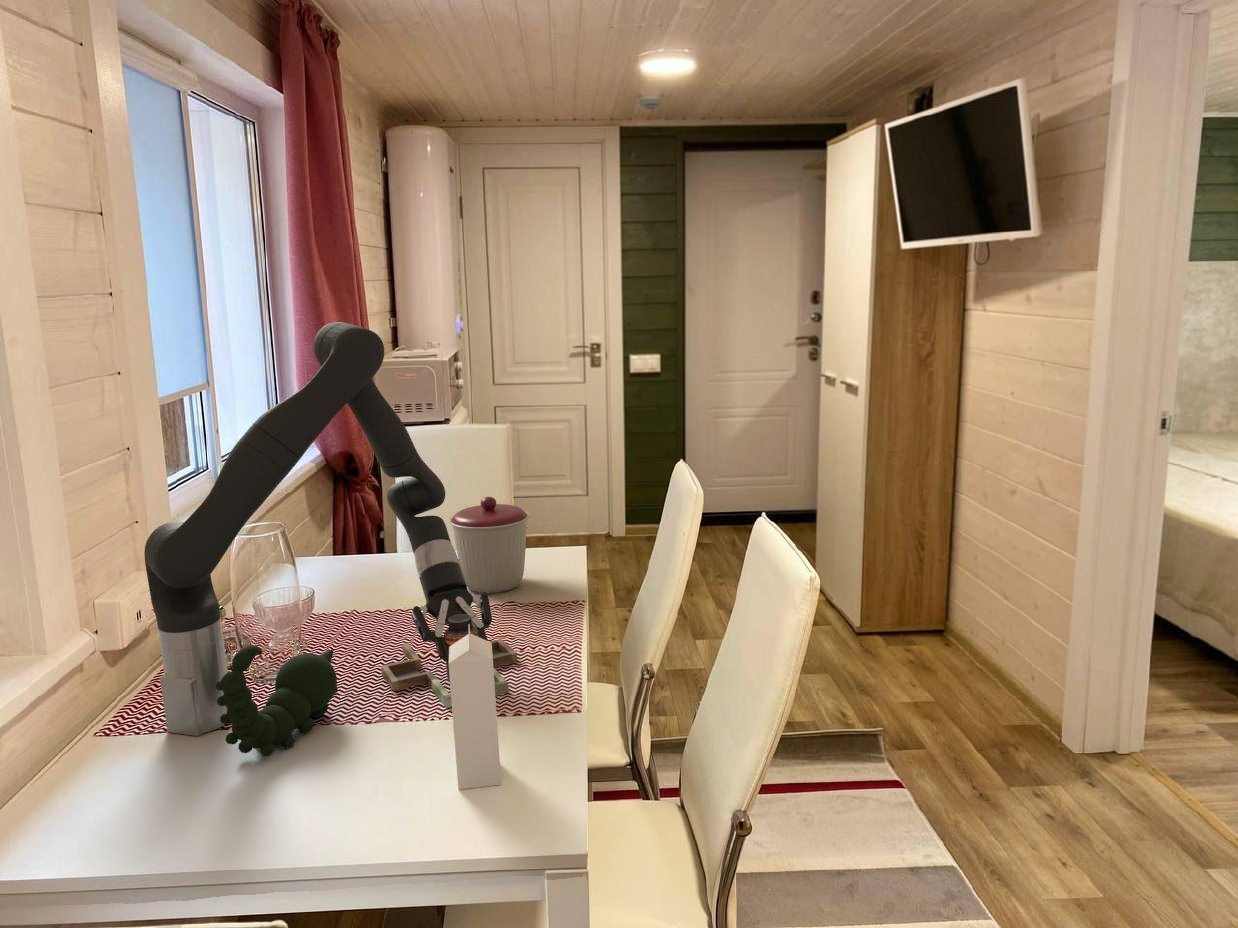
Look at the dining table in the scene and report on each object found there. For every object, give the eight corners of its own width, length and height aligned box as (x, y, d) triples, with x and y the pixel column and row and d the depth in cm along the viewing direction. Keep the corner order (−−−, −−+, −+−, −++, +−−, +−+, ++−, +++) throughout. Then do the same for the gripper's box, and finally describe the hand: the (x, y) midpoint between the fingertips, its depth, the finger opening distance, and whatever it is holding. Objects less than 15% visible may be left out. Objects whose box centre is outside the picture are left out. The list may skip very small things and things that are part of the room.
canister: (543, 591, 209) (538, 500, 205) (463, 604, 203) (456, 511, 199) (521, 569, 226) (516, 484, 221) (446, 580, 219) (440, 493, 215)
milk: (499, 763, 136) (491, 621, 132) (501, 785, 131) (492, 636, 126) (457, 768, 136) (447, 624, 131) (457, 790, 130) (446, 640, 125)
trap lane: (371, 659, 175) (370, 650, 175) (487, 634, 186) (486, 625, 185) (410, 716, 152) (409, 706, 152) (541, 683, 162) (540, 674, 162)
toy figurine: (270, 785, 136) (363, 696, 159) (247, 669, 131) (347, 594, 153) (217, 777, 139) (316, 690, 162) (192, 663, 133) (298, 590, 156)
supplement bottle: (485, 671, 166) (481, 611, 163) (477, 686, 160) (472, 624, 158) (452, 671, 166) (447, 611, 164) (443, 686, 161) (438, 624, 158)
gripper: (473, 573, 174) (500, 655, 167) (397, 588, 168) (421, 673, 160) (481, 553, 169) (509, 636, 161) (402, 567, 162) (428, 655, 154)
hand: (465, 654), depth 161 cm, fingers closed on supplement bottle, 6 cm apart
